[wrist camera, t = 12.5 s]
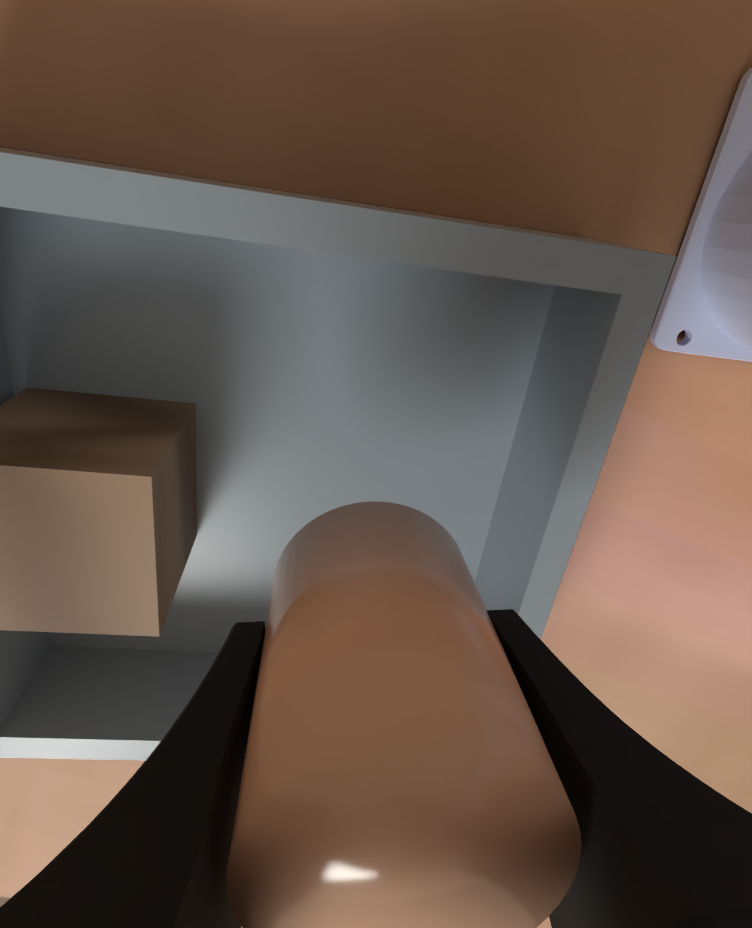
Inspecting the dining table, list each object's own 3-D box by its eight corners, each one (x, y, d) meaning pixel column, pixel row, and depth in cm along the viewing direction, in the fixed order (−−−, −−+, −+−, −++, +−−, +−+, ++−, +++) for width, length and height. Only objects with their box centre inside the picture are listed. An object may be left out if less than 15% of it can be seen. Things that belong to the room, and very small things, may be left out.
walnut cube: (195, 403, 18) (151, 476, 13) (196, 535, 20) (159, 636, 15) (26, 387, 17) (-80, 459, 13) (47, 525, 19) (-38, 628, 15)
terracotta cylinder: (472, 497, 14) (605, 729, 7) (461, 661, 15) (559, 964, 9) (265, 505, 13) (205, 757, 7) (279, 672, 15) (243, 997, 9)
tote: (586, 238, 17) (676, 256, 13) (464, 663, 25) (494, 766, 21) (-44, 140, 15) (-200, 121, 10) (38, 644, 23) (-32, 757, 18)
